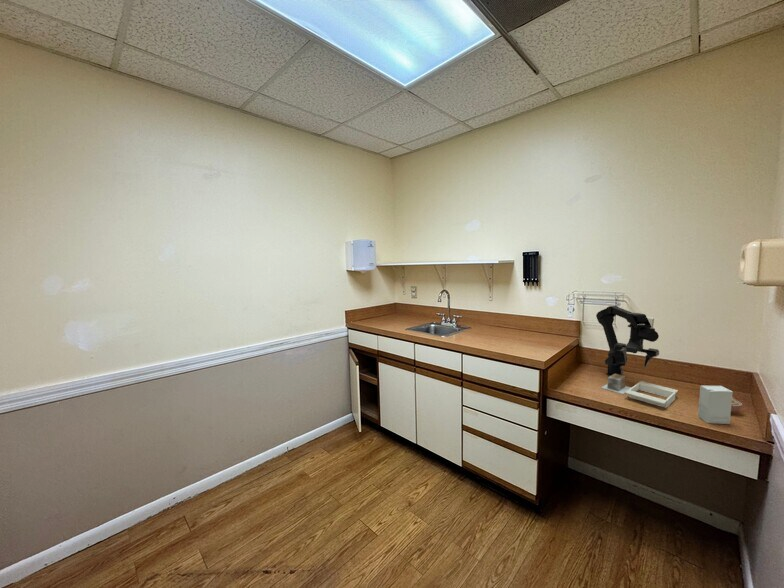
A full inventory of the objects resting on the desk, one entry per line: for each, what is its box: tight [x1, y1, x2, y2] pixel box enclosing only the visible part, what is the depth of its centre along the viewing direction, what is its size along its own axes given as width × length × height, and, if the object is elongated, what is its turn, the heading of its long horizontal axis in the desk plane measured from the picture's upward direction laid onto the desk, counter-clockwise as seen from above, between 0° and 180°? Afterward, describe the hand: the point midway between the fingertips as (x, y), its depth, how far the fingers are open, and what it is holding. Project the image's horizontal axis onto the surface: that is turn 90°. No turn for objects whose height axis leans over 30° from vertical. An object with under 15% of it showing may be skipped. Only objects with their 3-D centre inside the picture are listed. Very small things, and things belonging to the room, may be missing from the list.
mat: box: [600, 383, 632, 395], centre depth 169 cm, size 10×12×1 cm
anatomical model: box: [701, 384, 743, 413], centre depth 149 cm, size 23×10×5 cm, turn 153°
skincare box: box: [697, 385, 734, 425], centre depth 134 cm, size 8×6×15 cm
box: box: [607, 374, 626, 391], centre depth 169 cm, size 5×9×6 cm, turn 126°
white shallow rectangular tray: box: [624, 380, 679, 409], centre depth 157 cm, size 15×22×4 cm
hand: (634, 364), depth 171 cm, fingers open, 9 cm apart
